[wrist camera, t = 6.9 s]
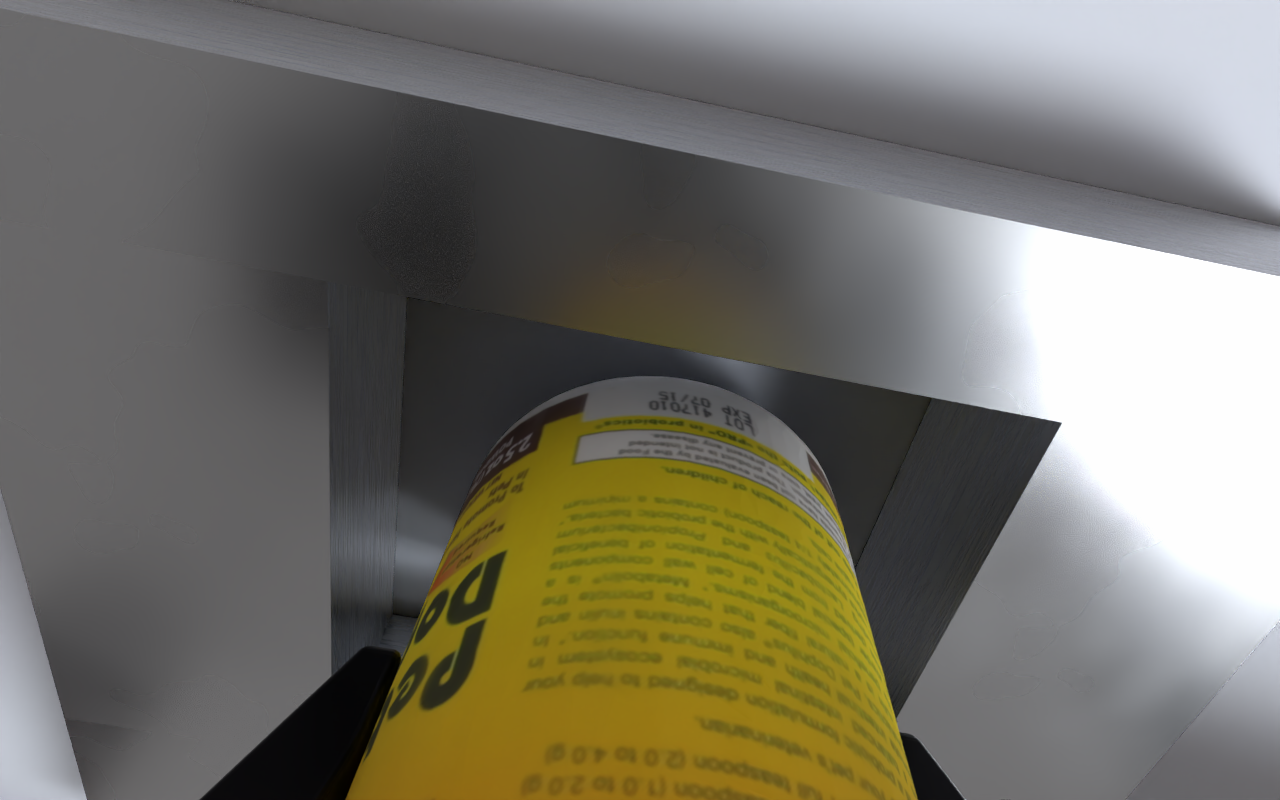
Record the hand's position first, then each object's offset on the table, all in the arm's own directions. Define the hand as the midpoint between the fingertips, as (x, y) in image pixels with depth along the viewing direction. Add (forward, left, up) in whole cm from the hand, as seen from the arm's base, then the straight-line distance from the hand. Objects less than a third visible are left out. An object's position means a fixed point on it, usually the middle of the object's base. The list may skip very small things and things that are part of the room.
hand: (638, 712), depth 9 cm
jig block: (-3, 0, -4) cm, 5 cm away
